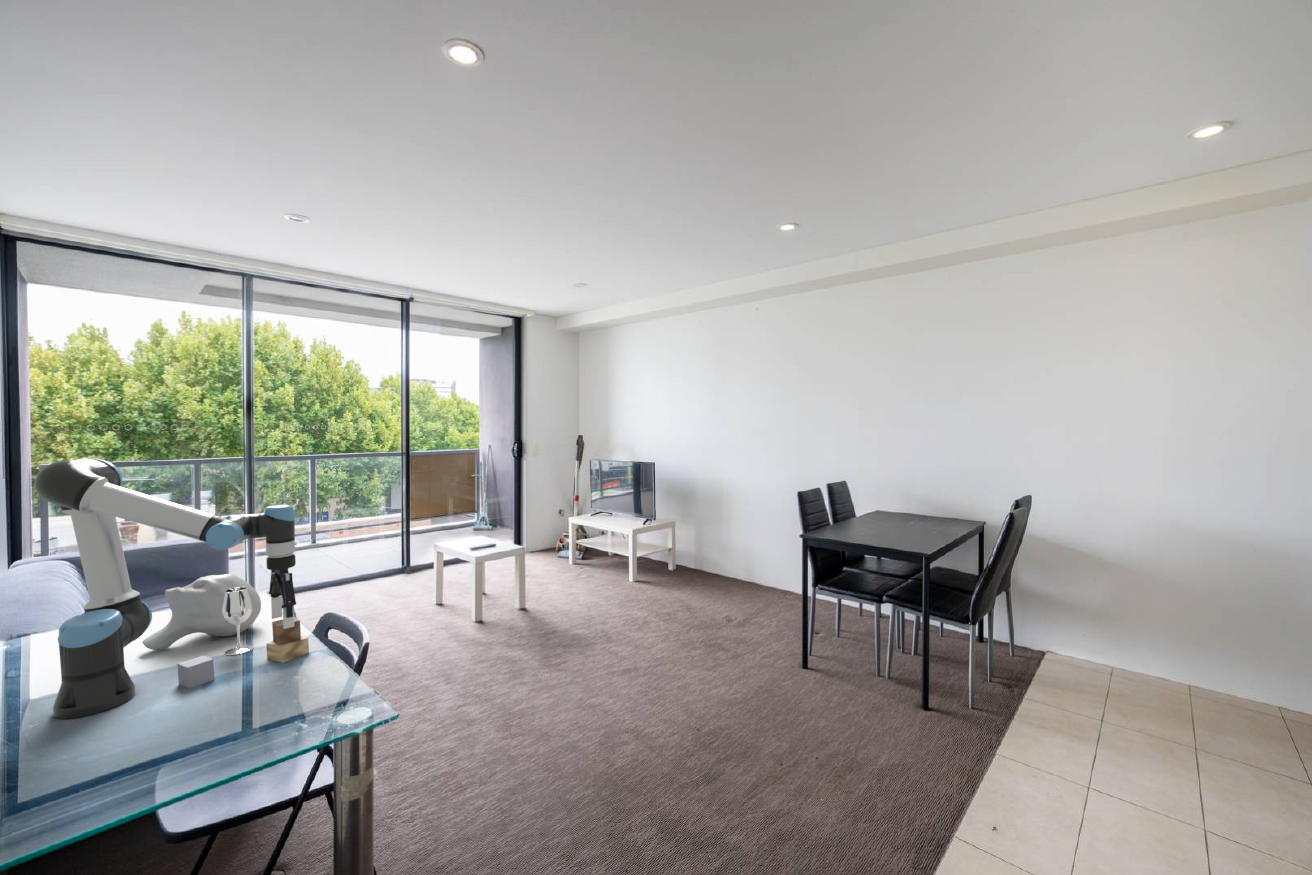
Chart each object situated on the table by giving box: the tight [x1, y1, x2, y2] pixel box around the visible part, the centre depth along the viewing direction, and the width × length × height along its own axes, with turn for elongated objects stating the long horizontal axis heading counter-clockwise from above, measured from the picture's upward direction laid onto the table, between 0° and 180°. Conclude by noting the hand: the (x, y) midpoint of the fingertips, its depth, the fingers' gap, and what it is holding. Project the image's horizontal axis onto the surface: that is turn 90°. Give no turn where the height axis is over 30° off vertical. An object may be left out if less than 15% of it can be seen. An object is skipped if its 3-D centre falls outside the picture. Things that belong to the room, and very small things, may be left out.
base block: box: [265, 635, 310, 663], centre depth 173 cm, size 8×8×5 cm
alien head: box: [142, 573, 262, 651], centre depth 189 cm, size 21×25×32 cm
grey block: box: [177, 655, 215, 689], centre depth 157 cm, size 6×6×6 cm
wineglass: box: [222, 587, 254, 656], centre depth 178 cm, size 8×8×20 cm
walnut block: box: [271, 616, 302, 646], centre depth 173 cm, size 6×6×6 cm
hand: (282, 622), depth 173 cm, fingers open, 13 cm apart
